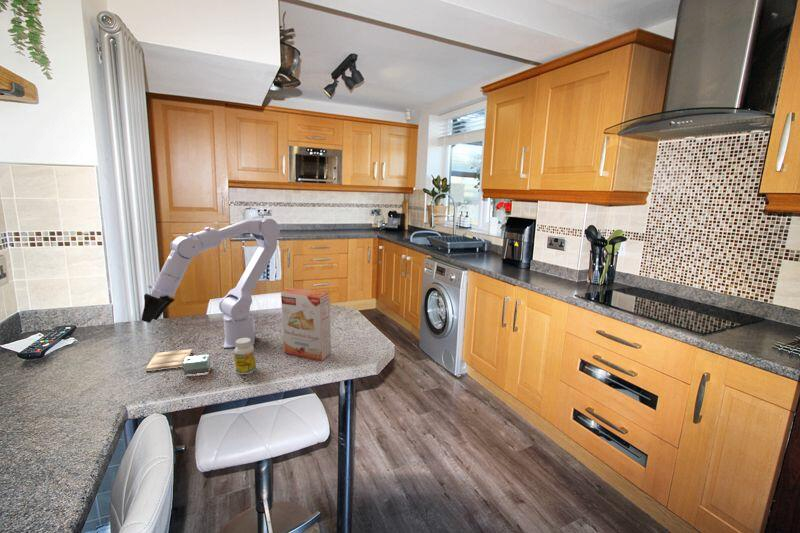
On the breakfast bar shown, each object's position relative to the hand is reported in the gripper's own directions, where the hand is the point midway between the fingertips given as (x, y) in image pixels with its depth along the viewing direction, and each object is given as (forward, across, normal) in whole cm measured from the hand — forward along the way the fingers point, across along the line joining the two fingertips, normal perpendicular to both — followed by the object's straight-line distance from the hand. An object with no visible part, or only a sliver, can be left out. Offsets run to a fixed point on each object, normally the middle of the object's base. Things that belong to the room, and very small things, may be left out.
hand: (149, 320), depth 107 cm
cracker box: (-5, +1, +45) cm, 46 cm away
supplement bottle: (+4, +6, +30) cm, 30 cm away
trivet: (+11, -7, +9) cm, 16 cm away
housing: (+9, +2, +18) cm, 20 cm away
